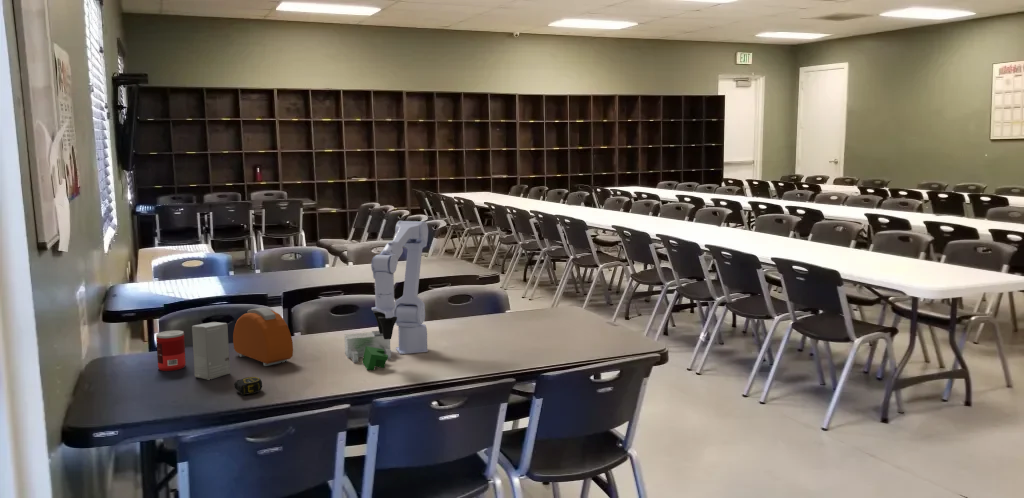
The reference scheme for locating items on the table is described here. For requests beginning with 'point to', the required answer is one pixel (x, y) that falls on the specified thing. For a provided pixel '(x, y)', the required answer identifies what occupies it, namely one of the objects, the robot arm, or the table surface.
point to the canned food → (170, 350)
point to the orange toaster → (263, 337)
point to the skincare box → (210, 350)
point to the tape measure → (248, 385)
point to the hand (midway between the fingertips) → (385, 336)
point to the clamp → (374, 358)
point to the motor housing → (365, 344)
